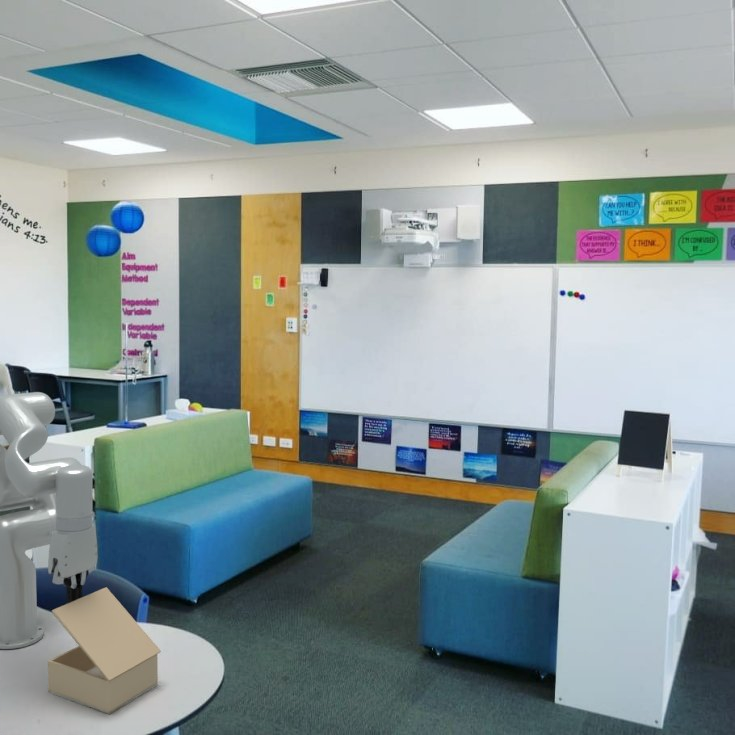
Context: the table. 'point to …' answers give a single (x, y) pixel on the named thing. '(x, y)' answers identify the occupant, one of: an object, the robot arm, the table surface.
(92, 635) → the lid
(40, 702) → the table surface
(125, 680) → the box
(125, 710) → the table surface
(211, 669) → the table surface
